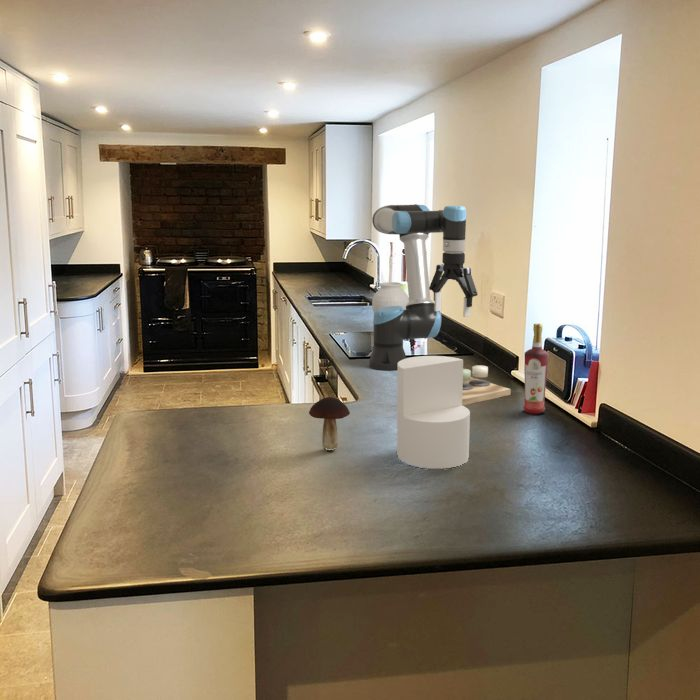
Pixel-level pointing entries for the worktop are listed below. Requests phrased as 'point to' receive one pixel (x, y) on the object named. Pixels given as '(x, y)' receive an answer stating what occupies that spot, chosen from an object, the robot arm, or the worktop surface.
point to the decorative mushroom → (329, 418)
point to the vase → (390, 296)
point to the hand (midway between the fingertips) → (452, 313)
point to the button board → (481, 391)
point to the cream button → (479, 371)
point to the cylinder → (432, 412)
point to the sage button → (466, 374)
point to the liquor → (535, 374)
